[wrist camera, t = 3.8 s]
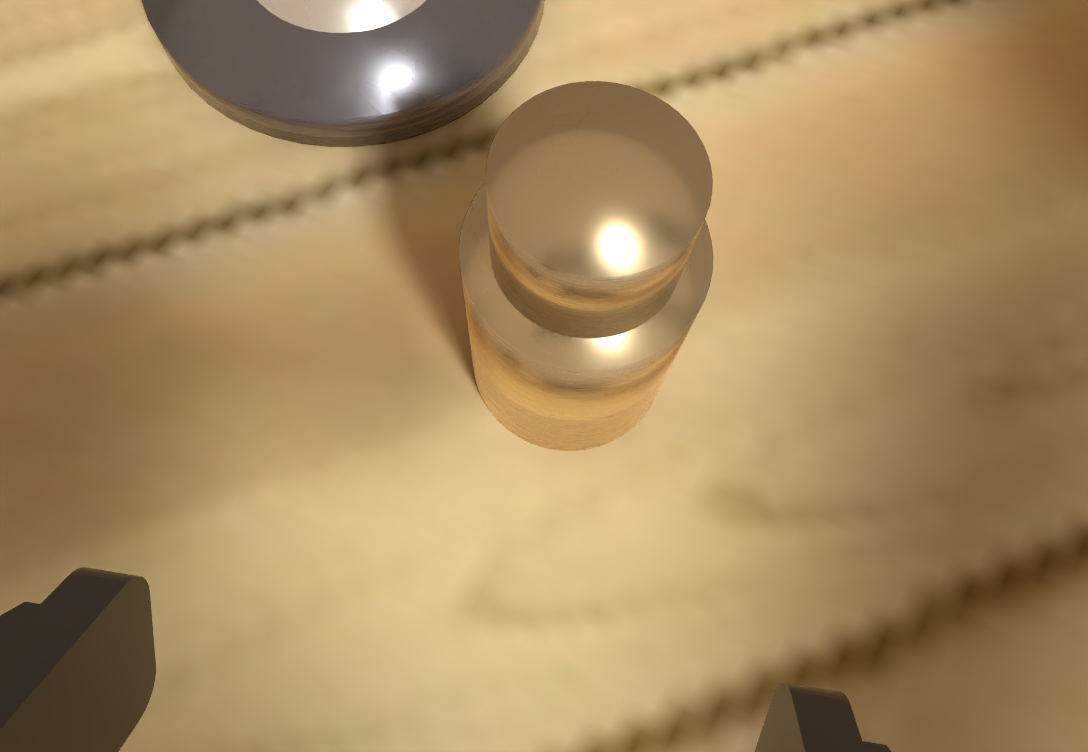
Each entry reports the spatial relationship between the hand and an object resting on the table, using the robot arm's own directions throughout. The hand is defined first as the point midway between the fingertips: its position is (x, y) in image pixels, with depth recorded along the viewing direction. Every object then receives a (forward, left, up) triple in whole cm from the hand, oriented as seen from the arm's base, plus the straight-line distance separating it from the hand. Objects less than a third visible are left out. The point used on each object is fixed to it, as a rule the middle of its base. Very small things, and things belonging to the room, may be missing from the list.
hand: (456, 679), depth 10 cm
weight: (+9, -1, -12) cm, 16 cm away
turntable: (+22, +9, -12) cm, 27 cm away
